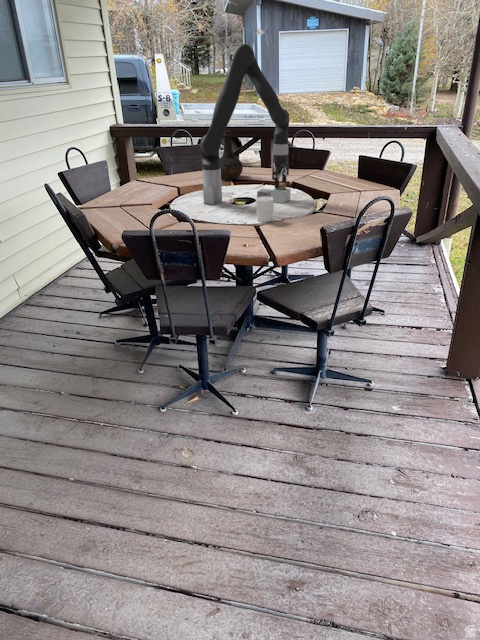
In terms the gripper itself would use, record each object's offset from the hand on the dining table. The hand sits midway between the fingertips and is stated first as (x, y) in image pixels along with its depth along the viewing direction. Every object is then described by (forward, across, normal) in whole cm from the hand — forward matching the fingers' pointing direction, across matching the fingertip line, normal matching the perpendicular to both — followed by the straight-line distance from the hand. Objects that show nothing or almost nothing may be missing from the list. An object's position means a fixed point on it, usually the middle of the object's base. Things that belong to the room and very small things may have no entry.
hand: (280, 186), depth 249 cm
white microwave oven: (+8, 0, 0) cm, 8 cm away
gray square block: (+8, 0, +9) cm, 12 cm away
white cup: (+8, -33, -8) cm, 35 cm away
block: (+8, 0, 0) cm, 8 cm away
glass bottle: (+8, +36, +53) cm, 65 cm away
